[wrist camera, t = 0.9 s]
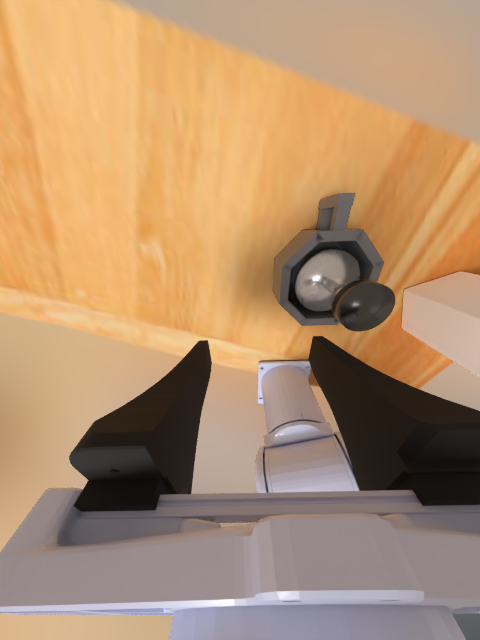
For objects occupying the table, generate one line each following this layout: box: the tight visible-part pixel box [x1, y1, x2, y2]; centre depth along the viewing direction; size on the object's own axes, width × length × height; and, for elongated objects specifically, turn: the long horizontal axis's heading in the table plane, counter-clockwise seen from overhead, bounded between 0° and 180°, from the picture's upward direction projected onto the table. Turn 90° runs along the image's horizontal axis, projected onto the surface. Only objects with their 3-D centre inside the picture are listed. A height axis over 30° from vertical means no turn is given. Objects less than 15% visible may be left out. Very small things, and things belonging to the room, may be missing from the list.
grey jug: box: [273, 193, 384, 326], centre depth 17 cm, size 12×9×4 cm
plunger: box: [294, 249, 395, 331], centre depth 14 cm, size 6×6×6 cm
